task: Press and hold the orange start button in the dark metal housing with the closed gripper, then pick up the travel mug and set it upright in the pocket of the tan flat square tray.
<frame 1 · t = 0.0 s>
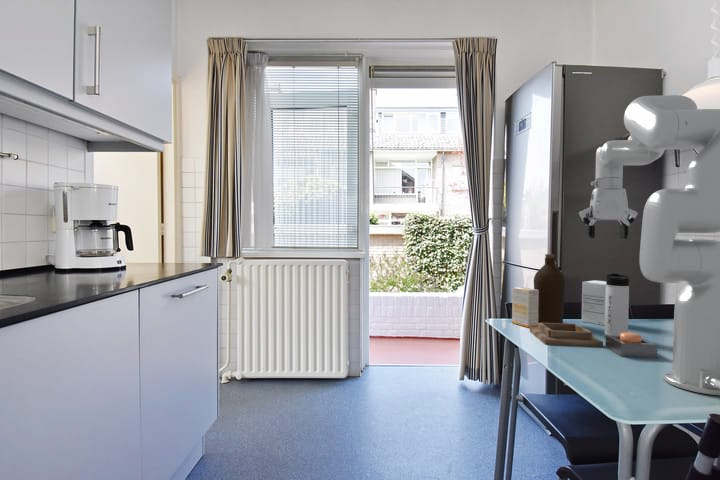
hand: (607, 238, 136), 31 cm above the table, fingers open, 9 cm apart
supplement box: (524, 325, 150), on the table
travel mug: (615, 338, 133), on the table
tan flat square tray: (563, 338, 131), on the table
supplement box 2: (598, 322, 157), on the table
button housing: (630, 352, 117), on the table
olive oil: (548, 323, 155), on the table
start button: (630, 339, 117), point 4 cm above the table, slide at 0.0 cm
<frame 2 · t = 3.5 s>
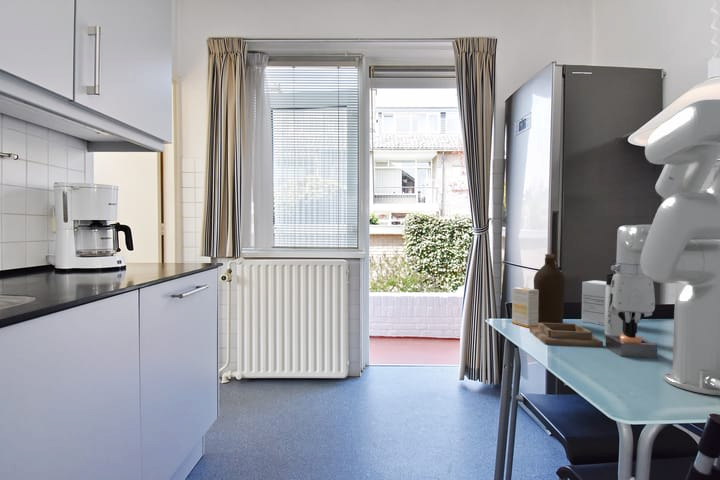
hand: (629, 335, 117), 4 cm above the table, fingers closed
start button: (630, 341, 117), point 3 cm above the table, slide at 0.6 cm, touching gripper
everything else where it was.
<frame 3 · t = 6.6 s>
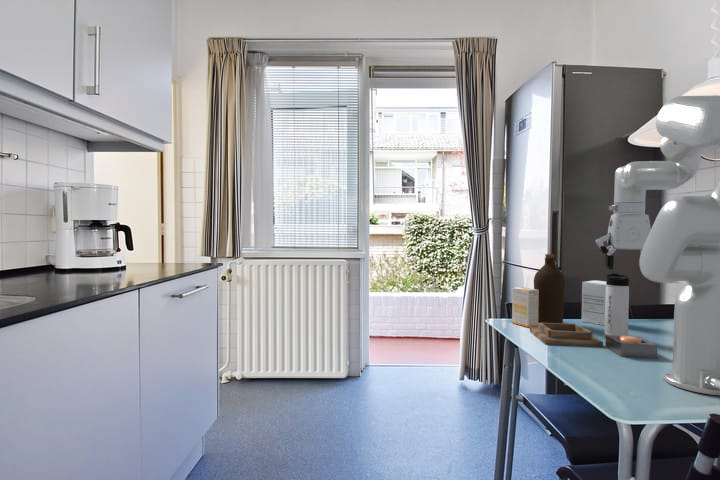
hand: (627, 269, 121), 22 cm above the table, fingers open, 9 cm apart
start button: (630, 342, 117), point 3 cm above the table, slide at 1.0 cm
everything else where it was.
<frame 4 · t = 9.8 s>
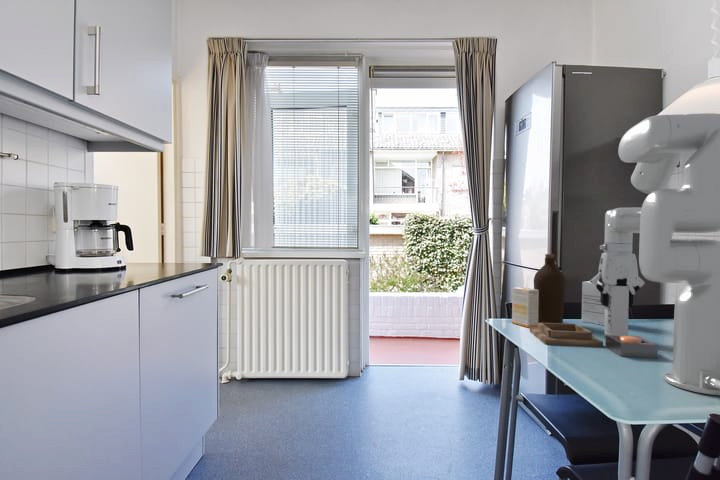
hand: (616, 305, 133), 10 cm above the table, fingers closed on travel mug, 6 cm apart
travel mug: (615, 338, 133), on the table, touching gripper
everything else where it was.
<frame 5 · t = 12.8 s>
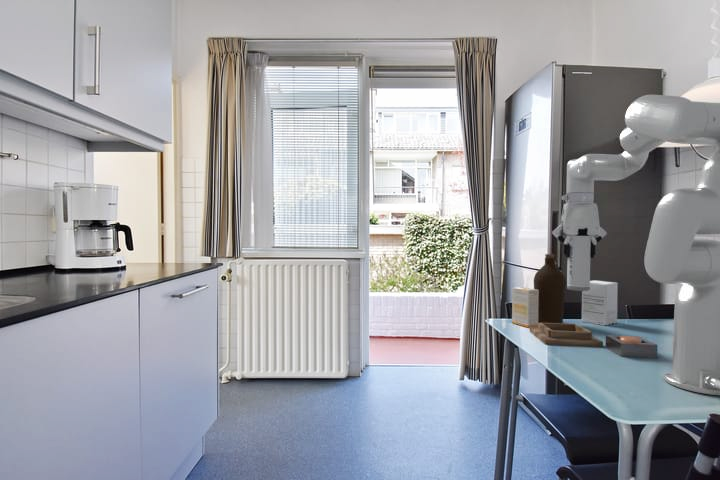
hand: (578, 256, 131), 25 cm above the table, fingers closed on travel mug, 6 cm apart
travel mug: (578, 290, 131), point 15 cm above the table, touching gripper
everything else where it was.
when the fingers open (12 cm above the table, at t = 16.1 s): travel mug stays where it is, resting on tan flat square tray.
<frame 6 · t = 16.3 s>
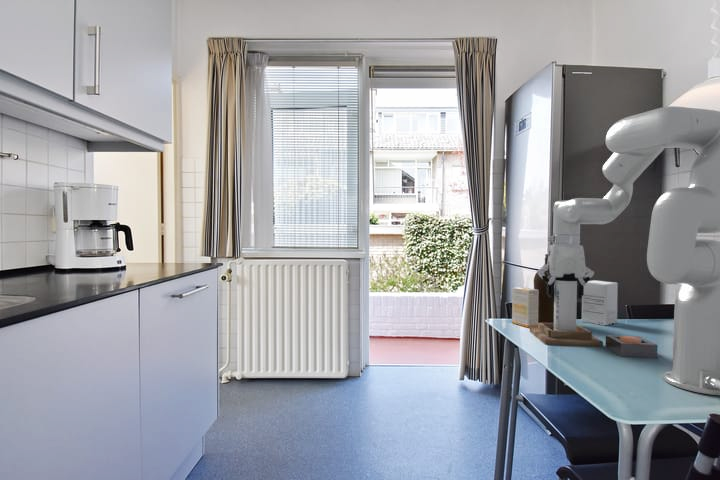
hand: (564, 297, 131), 13 cm above the table, fingers open, 7 cm apart
travel mug: (564, 334, 131), point 1 cm above the table, touching tan flat square tray
everything else where it was.
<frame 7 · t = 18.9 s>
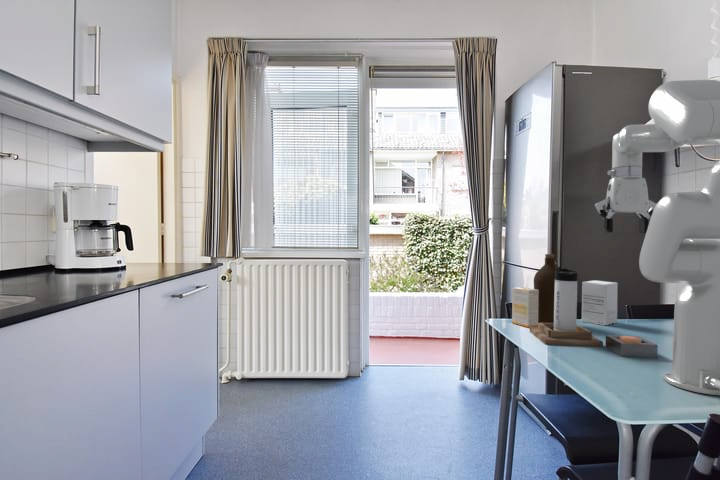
hand: (625, 232, 125), 33 cm above the table, fingers open, 9 cm apart
nothing on the table moved.
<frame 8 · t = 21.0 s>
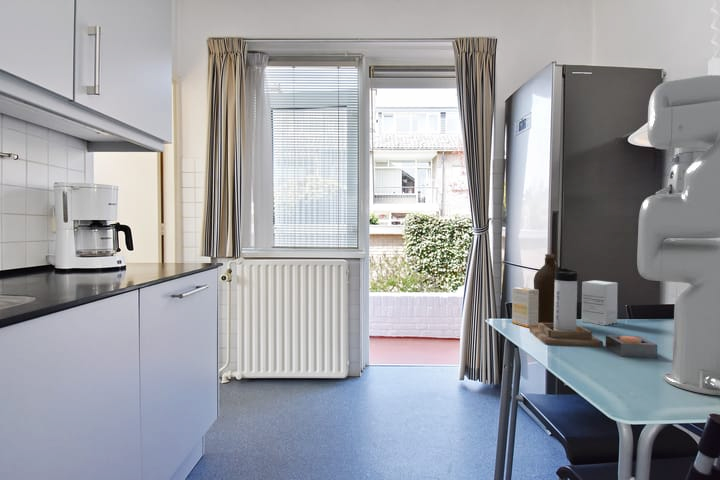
hand: (688, 221, 119), 36 cm above the table, fingers open, 9 cm apart
nothing on the table moved.
at the end: start button slide at 1.0 cm; travel mug 0.2 cm off-centre on the tan flat square tray, point 1.3 cm above the tan flat square tray's base; travel mug tilted 0° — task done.
